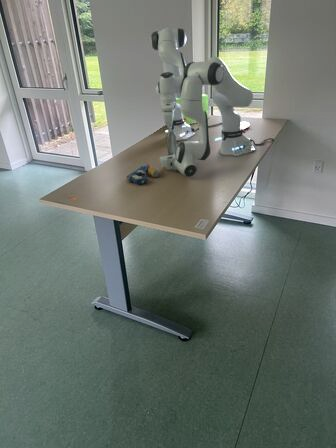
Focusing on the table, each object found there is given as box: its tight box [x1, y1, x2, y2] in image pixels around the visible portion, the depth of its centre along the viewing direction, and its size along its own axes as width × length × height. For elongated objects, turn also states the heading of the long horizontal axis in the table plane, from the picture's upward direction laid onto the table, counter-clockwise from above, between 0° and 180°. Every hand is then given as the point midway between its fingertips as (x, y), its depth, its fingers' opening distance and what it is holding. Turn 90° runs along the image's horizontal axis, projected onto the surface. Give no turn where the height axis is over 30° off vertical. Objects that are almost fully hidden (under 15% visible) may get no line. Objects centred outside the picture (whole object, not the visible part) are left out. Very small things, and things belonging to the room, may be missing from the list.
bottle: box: [166, 130, 178, 155], centre depth 199 cm, size 6×6×22 cm
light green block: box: [176, 93, 209, 126], centre depth 283 cm, size 25×21×23 cm
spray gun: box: [125, 164, 160, 185], centre depth 188 cm, size 21×4×15 cm
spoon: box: [240, 120, 251, 130], centre depth 250 cm, size 35×11×2 cm, turn 159°
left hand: (170, 129), depth 194 cm, fingers open, 6 cm apart
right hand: (172, 154), depth 203 cm, fingers closed on bottle, 5 cm apart
